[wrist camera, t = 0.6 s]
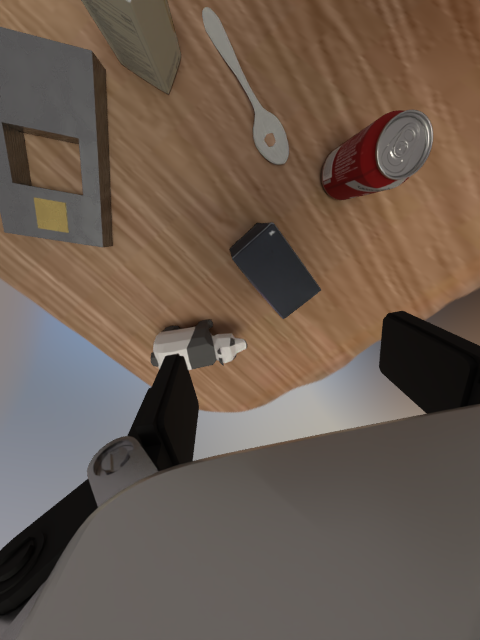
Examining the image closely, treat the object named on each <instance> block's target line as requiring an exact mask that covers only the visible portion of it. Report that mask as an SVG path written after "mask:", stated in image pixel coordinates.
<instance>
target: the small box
mask: <svg viewBox="0 0 480 640" xmlns="http://www.w3.org/2000/svg"><path fill="white" fill-rule="evenodd" d="M229 250H230V252H231V256H232V259H233V261H234V262H235V263H236V265H237V266H238V267H239V269H240V270H241V271H242V272H243V274H244V275H245V276H246V277H247V278H248V280H249V281H250V282H251V283H252V285H253V286H254V287H255V288H256V289H257V291H258V292H259V293H260V294H261V295H262V296H263V297H264V299H265V300H266V301H267V302H268V303H269V304H270V305H271V306H272V308H273V309H274V310H275V311H276V312H277V313H278V314H279V315H280V316H281V317H282V318H283V319H284V318H286V317H287V316H289V315H290V314H291V313H293V312H294V311H295V310H297V309H298V308H299V307H300V306H302V305H303V304H304V303H305V302H307V301H308V300H309V299H311V298H312V297H313V296H314V295H316V294H317V293H318V292H319V291H321V289H320V287H319V286H318V284H317V283H316V282H315V280H314V279H313V277H312V276H311V274H310V273H309V272H308V270H307V269H306V267H305V266H304V265H303V263H302V262H301V260H300V259H299V258H298V256H297V255H296V253H295V252H294V251H293V249H292V248H291V246H290V245H289V244H288V242H287V241H286V239H285V238H284V237H283V235H282V234H281V232H280V231H279V230H278V228H277V227H276V225H275V224H274V223H256V224H255V225H254V226H253V228H252V229H250V230H249V231H248V232H247V233H246V234H245V235H244V236H243V237H241V239H239V240H238V241H237V242H236V243H235V244H234V245H233V246H232V247H231V248H230V249H229Z"/></svg>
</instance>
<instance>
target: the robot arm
mask: <svg viewBox="0 0 480 640" xmlns="http://www.w3.org/2000/svg"><path fill="white" fill-rule="evenodd" d="M379 368H380V371H381V372H382V374H384V375H385V376H386V377H387V378H388V379H389V380H390V381H391V382H392V383H394V384H395V385H396V386H397V387H398V388H399V389H400V390H401V391H402V392H403V393H405V394H406V395H407V396H408V397H409V398H410V399H411V400H412V401H413V402H415V403H416V404H417V405H418V406H419V407H420V408H421V409H422V410H423V411H425V412H426V413H427V414H423V415H418V416H413V417H408V418H402V419H397V420H392V421H387V422H381V423H376V424H371V425H366V426H361V427H356V428H351V429H346V430H340V431H335V432H330V433H325V434H320V435H315V436H310V437H305V438H300V439H295V440H290V441H285V442H280V443H275V444H270V445H265V446H260V447H255V448H250V449H245V450H240V451H236V452H231V453H226V454H222V455H217V456H213V457H208V458H204V459H200V460H196V461H193V452H194V444H195V435H196V428H197V419H198V411H199V404H198V399H197V396H196V393H195V390H194V387H193V383H192V380H191V377H190V374H189V371H188V367H187V364H186V361H185V358H184V356H180V355H179V354H178V353H177V354H172V355H167V356H165V358H164V360H163V362H162V365H161V367H160V369H159V372H158V374H157V376H156V378H155V381H154V383H153V385H152V387H151V388H149V389H148V391H147V393H146V395H145V398H144V400H143V402H142V404H141V407H140V409H139V411H138V413H137V416H136V418H135V420H134V422H133V424H132V427H131V429H130V431H129V434H128V436H125V437H120V438H117V439H115V440H113V441H111V442H109V443H108V444H106V445H105V446H104V447H102V448H101V449H100V450H99V451H98V453H96V454H95V455H94V457H93V458H92V460H91V462H90V463H89V466H88V469H87V476H88V479H87V480H86V481H85V482H83V483H82V484H81V485H80V486H78V487H77V488H76V489H75V490H73V491H72V492H71V493H70V494H68V495H67V496H66V497H65V498H63V499H62V500H61V501H60V502H58V503H57V504H56V505H55V506H53V507H52V508H51V509H50V510H48V511H47V512H46V513H45V514H43V515H42V516H41V517H40V518H38V519H37V520H36V521H35V522H33V523H32V524H31V525H30V526H28V527H27V528H26V529H25V530H23V531H22V532H21V533H20V534H18V535H17V536H16V537H15V538H13V539H12V540H11V541H10V542H9V543H8V544H7V545H6V546H5V547H3V548H2V550H1V551H0V640H480V346H479V345H477V344H474V343H472V342H470V341H468V340H466V339H463V338H461V337H459V336H457V335H455V334H452V333H450V332H448V331H446V330H444V329H442V328H439V327H437V326H435V325H433V324H431V323H429V322H426V321H424V320H422V319H420V318H418V317H415V316H413V315H411V314H409V313H407V312H404V311H398V312H393V313H388V314H387V316H386V317H385V318H384V319H383V327H382V338H381V350H380V362H379Z"/></svg>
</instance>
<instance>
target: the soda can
mask: <svg viewBox="0 0 480 640" xmlns="http://www.w3.org/2000/svg"><path fill="white" fill-rule="evenodd" d="M432 143H433V129H432V125H431V122H430V120H429V119H428V117H427V116H426V115H425V114H424V113H422V112H420V111H418V110H407V111H393V112H389V113H387V114H385V115H383V116H382V117H380V118H379V119H377V120H376V121H375V122H373V123H372V124H370V125H369V126H367V127H366V128H365V129H363V130H362V131H360V132H359V133H357V134H356V135H354V136H353V137H352V138H350V139H349V140H347V141H346V142H344V143H343V144H342V145H340V146H339V147H337V148H336V149H334V150H333V151H332V152H331V153H330V154H329V156H328V157H327V159H326V161H325V163H324V165H323V169H322V184H323V187H324V189H325V191H326V193H327V194H328V195H329V196H330V197H332V198H334V199H337V200H346V199H350V198H354V197H358V196H363V195H367V194H371V193H375V192H380V191H384V190H388V189H392V188H395V187H397V186H399V185H400V184H402V183H403V182H405V181H406V180H407V179H408V178H409V177H410V176H411V175H413V174H414V173H416V172H417V171H418V170H419V169H420V168H421V167H422V165H423V164H424V163H425V161H426V159H427V158H428V156H429V153H430V151H431V147H432Z"/></svg>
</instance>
